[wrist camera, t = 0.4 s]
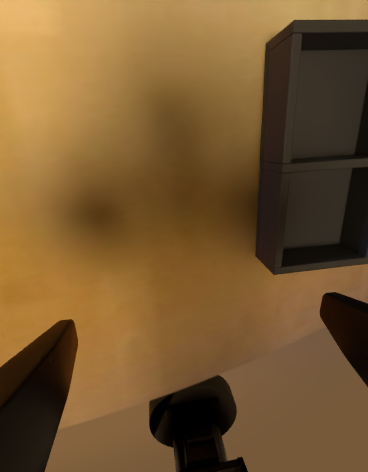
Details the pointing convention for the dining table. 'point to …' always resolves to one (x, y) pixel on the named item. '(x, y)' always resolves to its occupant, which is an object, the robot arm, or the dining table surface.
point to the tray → (314, 148)
